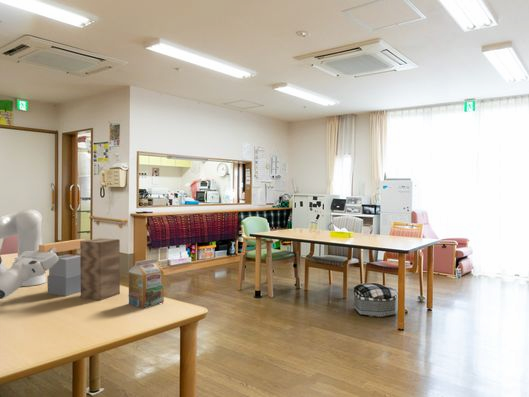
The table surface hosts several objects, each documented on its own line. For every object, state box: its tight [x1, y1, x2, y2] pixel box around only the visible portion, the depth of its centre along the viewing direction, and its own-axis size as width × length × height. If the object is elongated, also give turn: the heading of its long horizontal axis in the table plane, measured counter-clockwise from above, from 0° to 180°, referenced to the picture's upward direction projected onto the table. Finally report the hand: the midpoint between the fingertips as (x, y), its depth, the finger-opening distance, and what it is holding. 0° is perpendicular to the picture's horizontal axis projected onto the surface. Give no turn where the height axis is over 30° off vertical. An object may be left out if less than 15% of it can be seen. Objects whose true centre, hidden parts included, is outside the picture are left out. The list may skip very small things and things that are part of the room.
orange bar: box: [39, 238, 88, 254], centre depth 192 cm, size 4×24×4 cm, turn 157°
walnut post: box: [79, 237, 121, 301], centre depth 187 cm, size 12×12×26 cm
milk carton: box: [128, 258, 165, 309], centre depth 175 cm, size 11×11×19 cm
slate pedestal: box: [46, 254, 81, 297], centre depth 194 cm, size 12×12×17 cm
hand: (50, 248), depth 185 cm, fingers closed on orange bar, 4 cm apart
